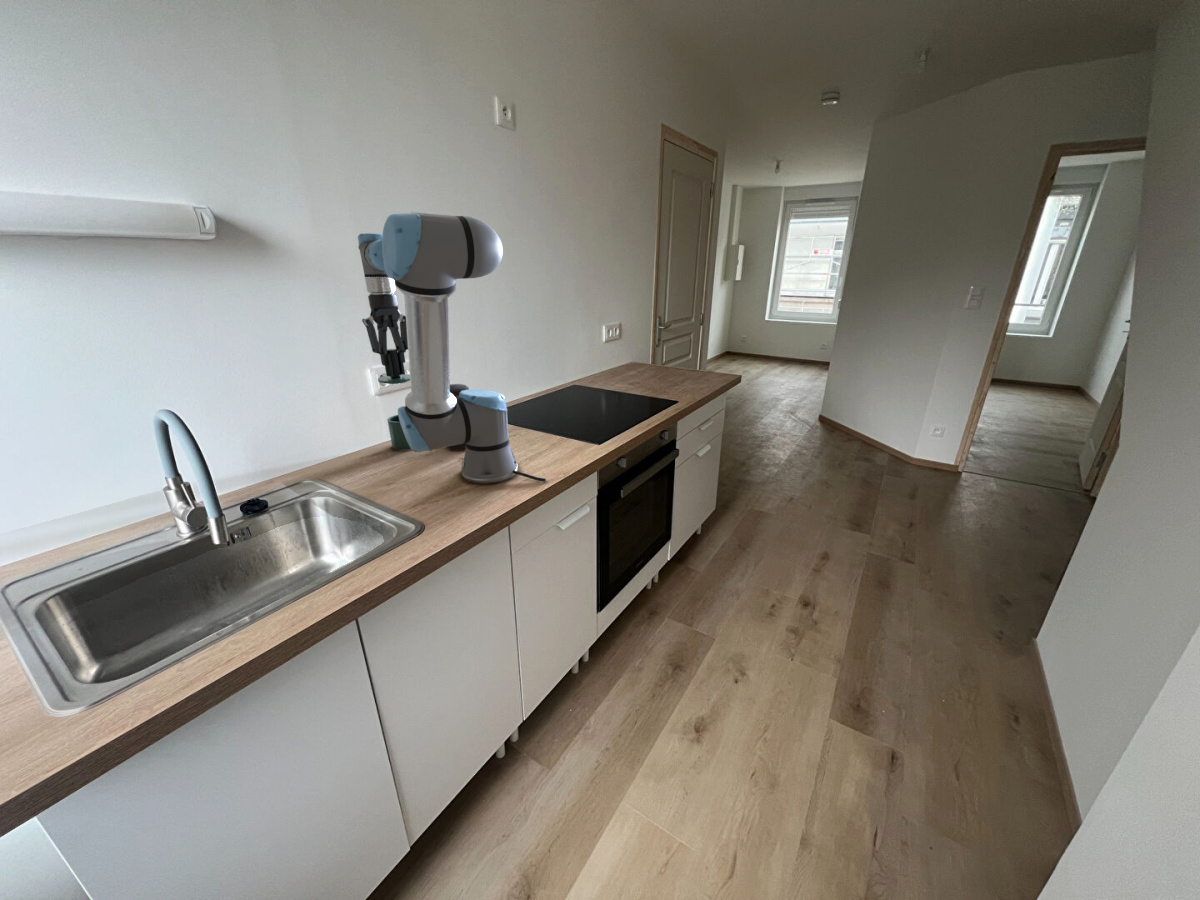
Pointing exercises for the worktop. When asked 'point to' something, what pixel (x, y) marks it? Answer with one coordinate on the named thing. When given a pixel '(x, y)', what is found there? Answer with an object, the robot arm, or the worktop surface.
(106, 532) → the worktop surface
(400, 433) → the tin
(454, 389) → the container
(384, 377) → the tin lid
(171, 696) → the worktop surface
